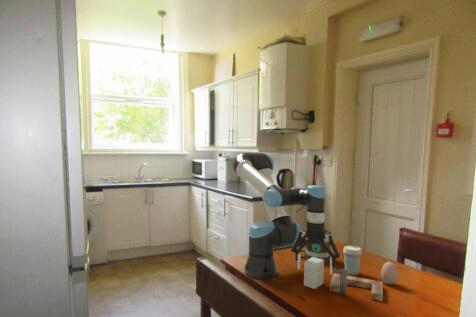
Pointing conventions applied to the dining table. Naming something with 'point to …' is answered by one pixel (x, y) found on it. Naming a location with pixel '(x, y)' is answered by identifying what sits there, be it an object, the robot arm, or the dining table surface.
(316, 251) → the mug
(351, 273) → the coffee cup
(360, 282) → the tan arch frame
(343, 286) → the hook post
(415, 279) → the dining table surface
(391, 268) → the egg
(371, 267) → the dining table surface
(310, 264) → the small box
